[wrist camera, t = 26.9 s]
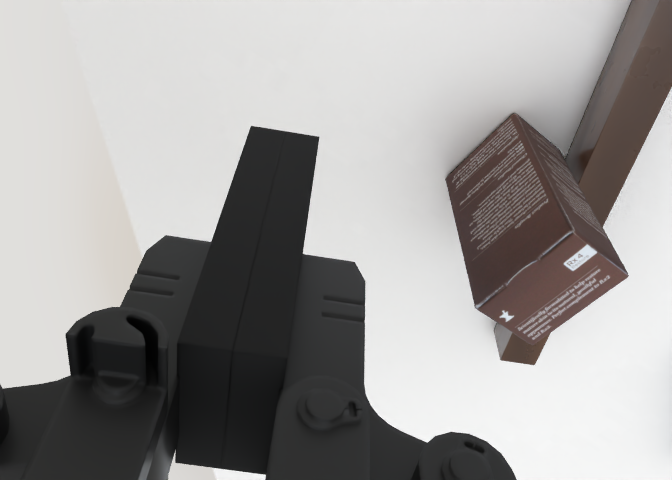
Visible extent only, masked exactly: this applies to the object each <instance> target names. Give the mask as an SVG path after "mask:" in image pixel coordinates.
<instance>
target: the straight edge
mask: <svg viewBox="0 0 672 480" xmlns="http://www.w3.org/2000/svg"><path fill="white" fill-rule="evenodd" d="M671 87H672V0H632V2H631V4H630V6H629V9H628V11H627V14H626V16H625V18H624V21H623V23H622V25H621V28H620V30H619V33H618V35H617V37H616V40H615V42H614V45H613V47H612V49H611V52H610V54H609V57H608V59H607V61H606V64H605V66H604V68H603V71H602V73H601V76H600V78H599V80H598V83H597V85H596V88H595V90H594V92H593V95H592V97H591V100H590V102H589V104H588V107H587V109H586V111H585V114H584V116H583V119H582V121H581V123H580V126H579V128H578V131H577V133H576V135H575V138H574V140H573V143H572V145H571V147H570V150H569V152H568V155H567V157H566V159H565V161H566V163H567V164H568V167H569V168H570V170H571V172H572V174H573V176H574V178H575V179H576V181H577V183H578V184H579V186H580V188H581V190H582V192H583V193H584V195H585V197H586V199H587V201H588V203H589V204H590V206H591V208H592V210H593V212H594V213H595V215H596V217H597V219H598V221H599V222H600V224H601V226H602V227H603V225H604V223H605V221H606V219H607V217H608V215H609V213H610V211H611V209H612V207H613V205H614V203H615V201H616V199H617V197H618V195H619V193H620V191H621V189H622V187H623V185H624V183H625V181H626V179H627V176H628V174H629V172H630V170H631V168H632V166H633V164H634V162H635V160H636V158H637V156H638V154H639V152H640V150H641V148H642V146H643V144H644V142H645V140H646V138H647V136H648V134H649V132H650V130H651V128H652V126H653V124H654V122H655V120H656V118H657V116H658V114H659V111H660V109H661V107H662V105H663V103H664V101H665V99H666V97H667V95H668V93H669V91H670V89H671ZM494 333H495V338H496V342H497V347H498V352H499V356H500V360H502V361H509V362H516V363H523V364H530V365H535V363H536V361H537V359H538V357H539V355H540V353H541V351H542V349H543V347H544V345H545V343H546V341H547V339H548V337H549V335H550V333H549V334H548V335H547V336H545V337H544V338H542V339H541V340H540V341H538V342H537V343H535V344H534V345H531V344H529V343H528V342H526V341H525V340H523V339H521V338H520V337H518V336H517V335H515V334H514V333H512V332H511V331H509V330H508V329H506V328H505V327H503V326H502V325H501V324H499V323H498V322H497V324H496V327H495V329H494Z"/></svg>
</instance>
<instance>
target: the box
mask: <svg viewBox="0 0 672 480" xmlns="http://www.w3.org/2000/svg"><path fill="white" fill-rule="evenodd" d="M446 183H447V187H448V191H449V196H450V200H451V205H452V209H453V213H454V218H455V222H456V226H457V231H458V235H459V239H460V243H461V248H462V252H463V256H464V261H465V265H466V269H467V274H468V278H469V282H470V287H471V291H472V296H473V300H474V304H475V308H476V309H477V310H479V311H480V312H482V313H484V314H485V315H487V316H488V317H490V318H491V319H493V320H494V321H496V322H498V323H499V324H501V325H502V326H503V327H505V328H506V329H508V330H509V331H511V332H512V333H514V334H515V335H517V336H518V337H520V338H521V339H523V340H525V341H526V342H528V343H529V344H531V345H534V344H535V343H537V342H538V341H540V340H541V339H542V338H544V337H545V336H547V335H548V334H549V333H551V332H552V331H553V330H555V329H556V328H558V327H559V326H560V325H562V324H563V323H564V322H566V321H567V320H569V319H570V318H571V317H573V316H574V315H575V314H577V313H578V312H580V311H581V310H583V309H584V308H585V307H587V306H588V305H589V304H591V303H592V302H594V301H595V300H596V299H598V298H599V297H601V296H602V295H603V294H605V293H606V292H608V291H609V290H610V289H612V288H613V287H615V286H616V285H617V284H619V283H620V282H622V281H623V280H625V279H626V278H627V277H628V276H629V275H628V273H627V271H626V269H625V267H624V265H623V264H622V262H621V260H620V258H619V256H618V255H617V253H616V251H615V249H614V248H613V246H612V244H611V242H610V240H609V238H608V237H607V235H606V233H605V231H604V229H603V228H602V226H601V224H600V222H599V221H598V219H597V217H596V215H595V213H594V212H593V210H592V208H591V206H590V204H589V203H588V201H587V199H586V197H585V195H584V193H583V192H582V190H581V188H580V186H579V184H578V183H577V181H576V179H575V178H574V176H573V174H572V172H571V170H570V168H569V167H568V164H567V163H566V161H565V159H564V157H563V155H562V154H561V152H560V150H558V149H557V148H556V147H555V146H554V145H553V144H551V143H550V142H549V141H548V140H547V139H546V138H544V137H543V136H542V135H541V134H540V133H538V132H537V131H536V130H535V129H534V128H533V127H531V126H530V125H529V124H528V123H527V122H525V121H524V120H523V119H522V118H521V117H520V116H519V115H517V114H515V113H514V114H512V115H511V116H510V117H509V118H508V119H507V120H506V121H505V122H504V123H503V124H502V125H501V126H500V127H499V128H498V129H497V130H495V131H494V132H493V133H492V134H491V135H490V136H489V137H488V138H487V139H486V140H485V141H484V142H483V143H482V144H481V145H480V146H479V147H478V148H477V149H476V150H475V151H473V152H472V153H471V154H470V155H469V156H468V157H467V158H466V159H465V160H464V161H463V162H462V163H461V164H460V165H459V166H458V167H457V168H456V169H455V170H454V171H453V172H452V173H451V174H450V175H448V176H447V177H446Z"/></svg>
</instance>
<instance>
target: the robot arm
mask: <svg viewBox="0 0 672 480" xmlns="http://www.w3.org/2000/svg"><path fill="white" fill-rule="evenodd" d="M318 142H319V137H317V136H310V135H304V134H298V133H292V132H286V131H279V130H273V129H267V128H261V127H255V126H251V128H250V130H249V133H248V136H247V139H246V142H245V145H244V148H243V151H242V154H241V157H240V160H239V163H238V166H237V169H236V171H235V174H234V177H233V180H232V183H231V186H230V189H229V192H228V195H227V198H226V201H225V204H224V207H223V209H222V212H221V215H220V218H219V221H218V224H217V227H216V230H215V233H214V236H213V239H212V242H207V241H200V240H193V239H187V238H180V237H173V236H167V235H166V236H164V237H163V238H162V239H161V240H159V241H158V242H157V243H156V244H154V245H153V246H152V247H150V248H149V249H148V250H147V251H146V253H145V255H144V257H143V259H142V261H141V264H140V266H139V268H138V270H137V274H135V276H134V278H133V280H132V283H131V285H130V289H129V290H128V291H127V293H126V295H125V297H124V300H123V302H122V304H121V306H120V307H111V308H107V309H103V310H99V311H95V312H92V313H90V314H88V315H87V316H85V317H83V318H82V319H80V320H78V321H76V323H75V324H74V325H73V326H72V327H71V328H70V330H69V331H68V332H67V333H66V341H67V349H68V357H69V365H70V372H71V375H70V376H68V377H65V378H63V379H61V380H58V381H54V382H49V383H44V384H38V385H29V386H21V387H13V388H5V389H2V387H1V385H0V480H168V473H169V470H170V466H171V463H172V459H173V456H174V453H175V449H176V459H175V461H176V463H182V464H189V465H197V466H205V467H212V468H220V469H227V470H235V471H242V472H250V473H258V474H265V475H266V479H265V480H516V477H515V475H514V473H513V471H512V469H511V467H510V466H509V464H508V463H507V461H506V460H505V458H504V457H503V455H502V454H501V453H500V452H499V451H497V450H496V449H495V448H494V447H492V446H491V445H490V444H489V443H488V442H486V441H484V440H482V439H479V438H477V437H475V436H472V435H470V434H465V433H455V432H449V433H446V434H442V435H438V436H435V437H434V438H433V439H432V440H430V441H429V442H428V443H427V442H424V441H422V440H420V439H417V438H415V437H413V436H411V435H408V434H406V433H404V432H401V431H400V430H398V429H396V428H394V427H392V426H391V425H389V424H388V423H387V422H385V421H384V420H383V419H382V418H381V417H379V416H378V414H377V413H376V412H375V411H374V409H373V408H372V407H371V405H370V403H369V401H368V399H367V397H366V394H365V387H364V346H365V323H364V320H365V280H364V278H363V276H362V275H361V273H360V271H359V269H358V267H357V266H356V264H355V262H351V261H344V260H337V259H331V258H324V257H318V256H311V255H304V254H303V247H304V240H305V233H306V226H307V219H308V212H309V205H310V198H311V191H312V184H313V177H314V170H315V163H316V156H317V149H318Z"/></svg>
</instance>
